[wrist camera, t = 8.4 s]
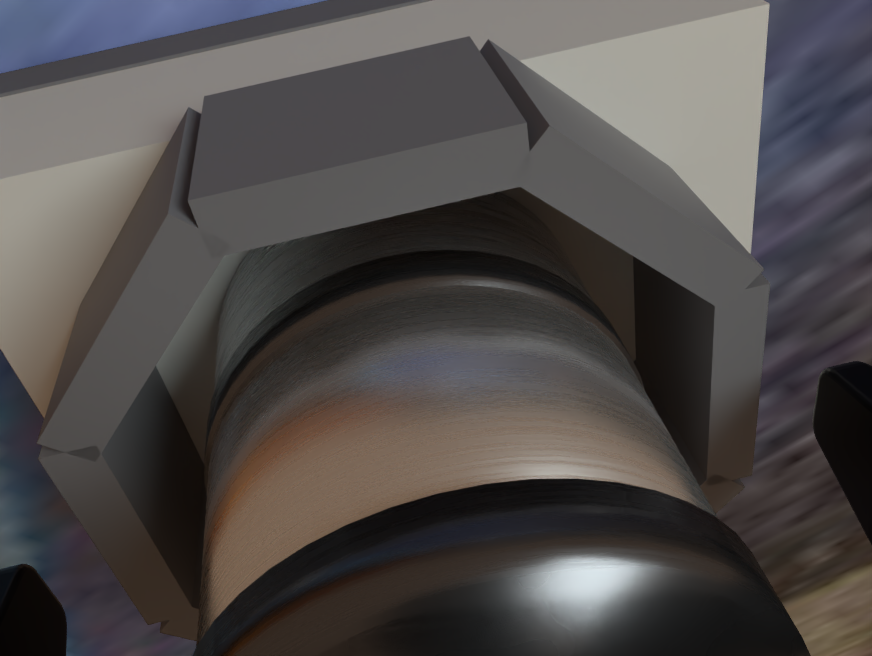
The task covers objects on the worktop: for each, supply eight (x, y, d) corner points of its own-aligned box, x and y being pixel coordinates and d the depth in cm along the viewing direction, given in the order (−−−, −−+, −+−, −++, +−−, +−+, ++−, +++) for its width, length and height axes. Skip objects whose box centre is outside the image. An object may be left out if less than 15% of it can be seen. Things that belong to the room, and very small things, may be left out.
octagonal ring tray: (650, 313, 17) (816, 567, 12) (171, 428, 17) (131, 741, 12) (645, -96, 13) (915, 32, 7) (-18, 52, 12) (-227, 295, 7)
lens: (594, 428, 13) (784, 829, 8) (273, 506, 13) (280, 962, 8) (573, 123, 10) (856, 487, 5) (150, 220, 10) (47, 692, 5)
